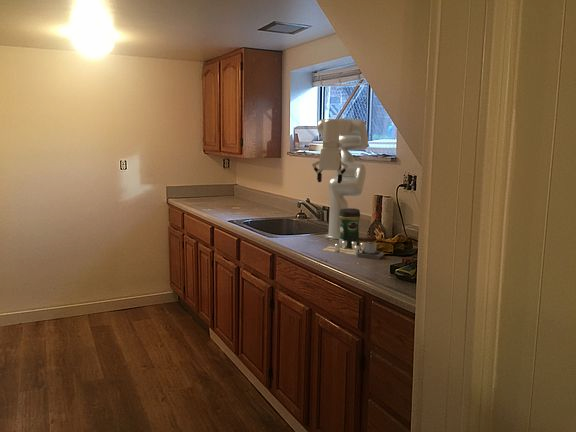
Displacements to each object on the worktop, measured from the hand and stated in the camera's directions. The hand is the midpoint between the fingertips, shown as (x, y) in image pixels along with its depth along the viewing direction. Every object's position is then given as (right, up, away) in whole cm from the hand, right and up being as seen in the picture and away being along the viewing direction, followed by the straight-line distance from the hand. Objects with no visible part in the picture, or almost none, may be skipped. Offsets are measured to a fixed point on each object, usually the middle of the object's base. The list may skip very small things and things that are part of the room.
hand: (329, 182), depth 248 cm
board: (+6, -32, -11) cm, 34 cm away
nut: (+16, -33, -22) cm, 43 cm away
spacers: (+8, -31, -12) cm, 35 cm away
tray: (+16, -34, -22) cm, 43 cm away
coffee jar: (+9, -31, 0) cm, 32 cm away
